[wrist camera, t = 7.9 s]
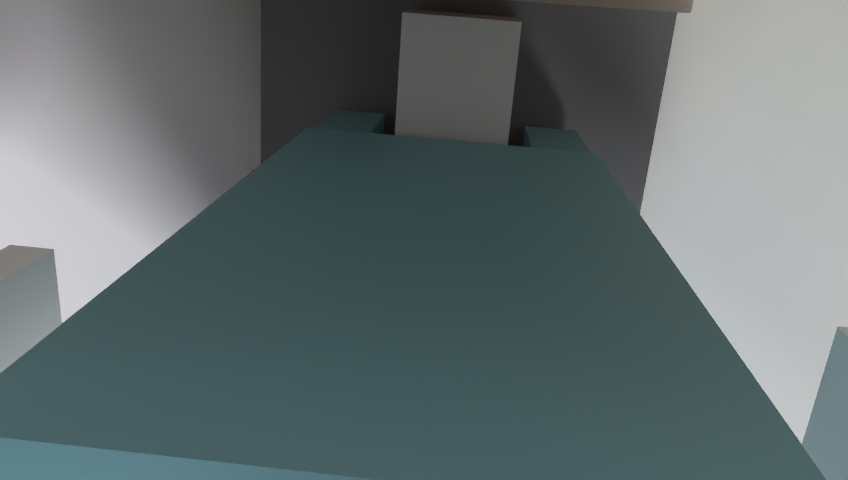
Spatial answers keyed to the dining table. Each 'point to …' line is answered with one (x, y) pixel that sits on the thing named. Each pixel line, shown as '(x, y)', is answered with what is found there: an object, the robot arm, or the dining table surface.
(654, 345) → the block
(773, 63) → the dining table surface
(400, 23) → the rail
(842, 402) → the robot arm
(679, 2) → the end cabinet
